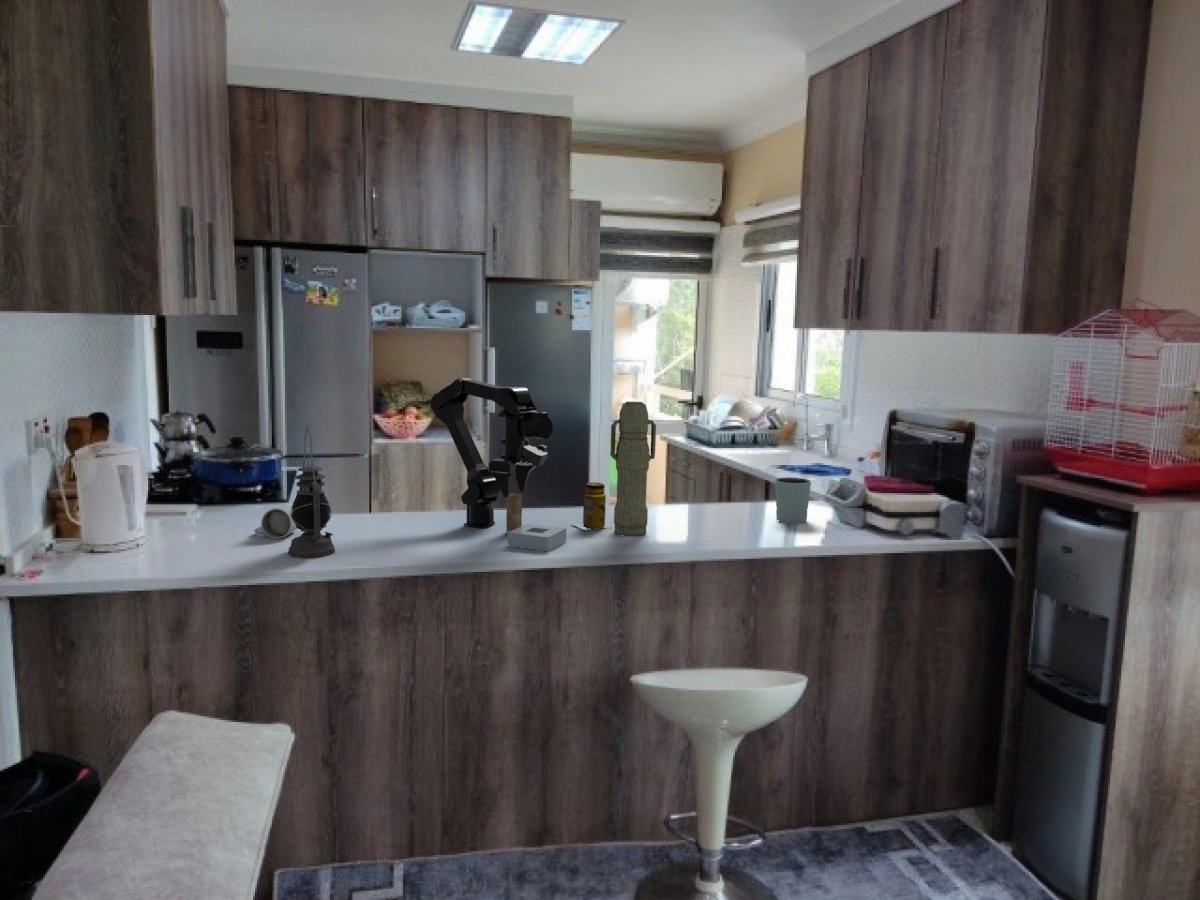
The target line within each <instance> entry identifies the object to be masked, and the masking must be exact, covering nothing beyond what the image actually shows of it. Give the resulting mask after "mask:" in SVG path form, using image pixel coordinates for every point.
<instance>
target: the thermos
mask: <svg viewBox="0 0 1200 900" xmlns="http://www.w3.org/2000/svg"><path fill="white" fill-rule="evenodd" d="M618 417H619V419H617V420H614V421H613V422H612V424H611V425H610V429H611V430H610V451H609V453H610V454H609V456H610V457H611V458H612V459H613V460H615V469H616V473H617V476H616V477H617V478H616V479H617V480H616V502H615V505H614V507H613V508H614V509H613V510H614V511H613V525H614V530H613V531H614V532H613V533H614V534H615V535H617V536H620V535H623V536H622V537H627V536H638V537H643V536H645V534H646V535H647V526H648V516H649V515H648V513H649V512H648V511H649V509H648V507H647V486H648V485H647V484H648V483H647V477H648V471H649V468H650V461H651V460H654V459H655V458H656V457H655V456H656V441H657V440H656V439H657V434H656V433H657V425H656V423H655V422H654V420H653V419H649V412H648V408H647V404H646V403H644V402H643V401H625V402H623V403H622V405H621V408H620V411H619V416H618ZM618 424H619V425H618ZM617 425H618V432H619V436H618V442H617V444H616V435H617V433H616V430H617ZM649 425H651V430H650V446H649V443H648V442H649V441H648V440H649V439H648V433H649V432H648V431H649Z"/></svg>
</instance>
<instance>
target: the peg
mask: <svg viewBox="0 0 1200 900" xmlns="http://www.w3.org/2000/svg"><path fill="white" fill-rule="evenodd" d="M522 511H523V494H520V493H509V496H508V497H506V517H505V518H506V525H505V527H506V528H505V530H506V531H507V532H510V531H512V530H514V529H517V528H519V527H521V526H523V525H522V523H523V520H522V517H523V515H522V514H523V512H522ZM506 531H505V532H506Z"/></svg>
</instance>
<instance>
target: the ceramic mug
mask: <svg viewBox="0 0 1200 900" xmlns="http://www.w3.org/2000/svg"><path fill="white" fill-rule="evenodd" d="M291 508H293V507H292V505H280V506H277V507H274V508H271V509H268V510H267V511H265V513H264V514H263V516H262V518H261V520H260V521H261V522H260V523H261V524H260V526H259V527H257V528H255V529H254V530H253V531H254V533H255V535H256V536H258V535H261V534H263V533H264V534H265V535H266V536H267V537H269V538H271V539H274V540H277V539H278V540H280V539H283V538H285V537H287V536H288V535H290V534H292V533H293V532H294V531H296V530H298V529H297V528H296V525H295V523H294V522H293V520H292V518H291V515H290V513H291V514H292V511H291Z"/></svg>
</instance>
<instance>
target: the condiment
mask: <svg viewBox="0 0 1200 900" xmlns="http://www.w3.org/2000/svg"><path fill="white" fill-rule="evenodd" d="M606 500H607V494H606V493H605V484H604V483H602V482H587V483H586V484H585V492H584V493H583V510H582V511H583V512H582V515H583V516H582V518H583V519H582V524H584V525H583V526H584V527H586V528H590V529H587V531H593V530H592V529H594V530H601V529H600V528H604V527H606V529H610V528H611V526H609V525H608V526H607V525H606V503H607V501H606ZM607 527H608V528H607Z"/></svg>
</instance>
